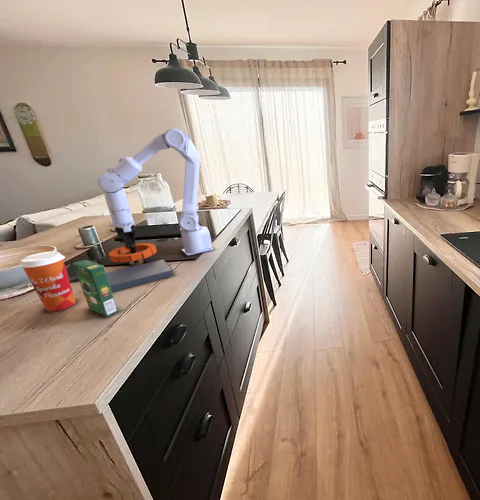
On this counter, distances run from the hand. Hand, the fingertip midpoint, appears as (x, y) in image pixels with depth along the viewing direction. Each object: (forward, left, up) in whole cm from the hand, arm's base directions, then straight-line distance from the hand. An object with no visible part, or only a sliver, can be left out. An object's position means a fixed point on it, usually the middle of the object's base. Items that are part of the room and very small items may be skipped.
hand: (130, 246), depth 102 cm
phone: (+16, +1, -5) cm, 17 cm away
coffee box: (+11, +36, -5) cm, 38 cm away
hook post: (0, +5, -5) cm, 7 cm away
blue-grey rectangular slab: (+1, +19, -5) cm, 20 cm away
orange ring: (0, +5, -1) cm, 6 cm away
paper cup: (+19, +25, -5) cm, 32 cm away
